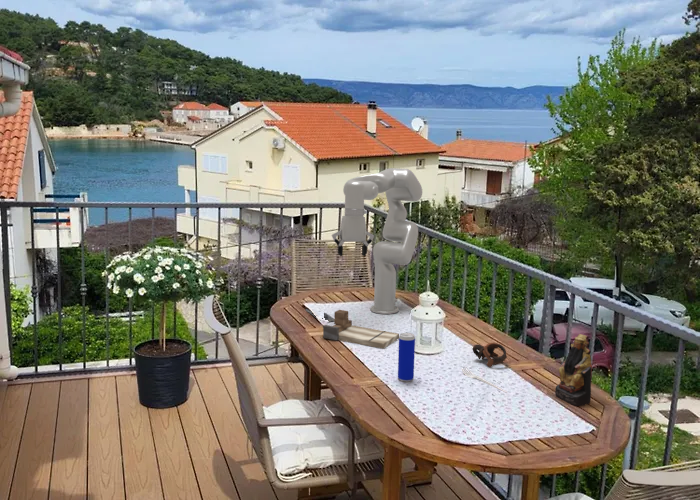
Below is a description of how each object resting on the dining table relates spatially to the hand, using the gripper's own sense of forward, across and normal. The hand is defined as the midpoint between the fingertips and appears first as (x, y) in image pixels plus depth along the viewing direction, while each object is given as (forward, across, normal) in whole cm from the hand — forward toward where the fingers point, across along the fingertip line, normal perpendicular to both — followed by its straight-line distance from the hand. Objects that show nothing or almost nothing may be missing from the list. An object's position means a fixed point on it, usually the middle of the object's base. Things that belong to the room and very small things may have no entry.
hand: (352, 255), depth 253 cm
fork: (+32, -28, +63) cm, 76 cm away
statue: (+32, -49, +82) cm, 101 cm away
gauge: (+30, +6, +6) cm, 31 cm away
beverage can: (+32, -4, +55) cm, 64 cm away
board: (+31, -2, +11) cm, 33 cm away
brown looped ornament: (+31, -38, +47) cm, 68 cm away
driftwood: (+31, +7, -22) cm, 38 cm away
